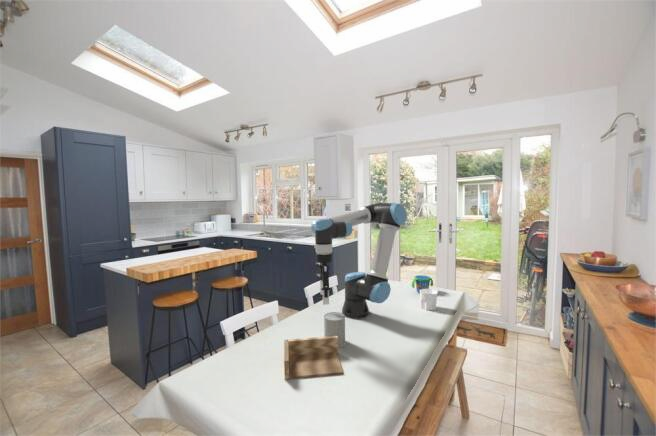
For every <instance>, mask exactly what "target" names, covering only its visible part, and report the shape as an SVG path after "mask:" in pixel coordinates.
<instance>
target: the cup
mask: <svg viewBox="0 0 656 436" xmlns="http://www.w3.org/2000/svg"><path fill="white" fill-rule="evenodd" d="M419 298H420V307H421V310H422V309H423V310H425V311H434V310H436V308H437V300H438V291H437V290H435V289H432V288H429V289H421V290H420V292H419Z"/></svg>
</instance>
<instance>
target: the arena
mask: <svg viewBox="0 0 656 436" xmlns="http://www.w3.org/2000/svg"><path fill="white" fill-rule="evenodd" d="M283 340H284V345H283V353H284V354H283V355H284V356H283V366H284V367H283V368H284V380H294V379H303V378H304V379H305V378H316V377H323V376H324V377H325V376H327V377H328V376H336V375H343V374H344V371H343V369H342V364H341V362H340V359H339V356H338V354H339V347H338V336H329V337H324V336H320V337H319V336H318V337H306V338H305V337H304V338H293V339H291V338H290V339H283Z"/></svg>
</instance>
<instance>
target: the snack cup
mask: <svg viewBox="0 0 656 436" xmlns="http://www.w3.org/2000/svg"><path fill="white" fill-rule="evenodd" d="M430 286H431V287H433V286H434V281H433V278H432V277H430V276H427V275H423V274H422V275H415V276H414V278H413V279H412V282H411V288H413V289H415V287H416V292H417V293H420V290H421V289H430Z"/></svg>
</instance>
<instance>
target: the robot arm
mask: <svg viewBox="0 0 656 436" xmlns="http://www.w3.org/2000/svg"><path fill="white" fill-rule="evenodd" d="M407 216H408V215H407V210H406V208H405V206H404V205H403V204H402V203H397V202H377V203H372V204H369V205H366V206H363V207H360V208H359V209H358V210H354V211H350V212H347V213H344V214H340V215H336V216H333V217H329V218H317V219H315V220H313V221H312V223H311V226H310V229H311V232H312V233H313V234H314V236H315V237H314V238H315V245H314V246H313V247H314V249H315V262H316V263H319V264H320V265H319V266H318V267H319V280H320V281H319V282H320V283H319V289H320V291H319V292H320V295H322V305H330V289H331V288H330V281H329V280H330V277H329V275H330V273H329V272H330V270H329V269H330V268H329V267H330V265H329V263H332V262H333V239H341V238H346V237H350V236H351V235H352V233H353V227H354V226H358V225H361V224H365V225H367V224H378V226H379V233H378V237H377V241H376V245H375V249H374V253H373V258H372V261H371V262H372V263H371V267H370V269H369V270H370V271H368V272H367V273H366V272H363V271H356V272H355V271H353V272H348V273H346V275H345V276H344V303H343V305H342V307H341V308H342V309H341V313H342V314H344V315H345V318H346V317H347V318H349V319H362V318H363V319H364V318H366V317H368V316H369V315H370V309H369V306H368V303H367V301H369V302H371V303H375V304H382V303H384V302H385V301H388V298H389V296H390V294H391V291H392V290H391V289H392V288H391V284H390V283H389V282H388V281H389V277H388V276H387V273H388V268H389V264H390V260H391V255H392V250H393V245H394V241H395V237H396V233H397V232H398V231H399V230H400V228H401V226H404V225H405V224H406V221H407V218H408V217H407Z"/></svg>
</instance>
